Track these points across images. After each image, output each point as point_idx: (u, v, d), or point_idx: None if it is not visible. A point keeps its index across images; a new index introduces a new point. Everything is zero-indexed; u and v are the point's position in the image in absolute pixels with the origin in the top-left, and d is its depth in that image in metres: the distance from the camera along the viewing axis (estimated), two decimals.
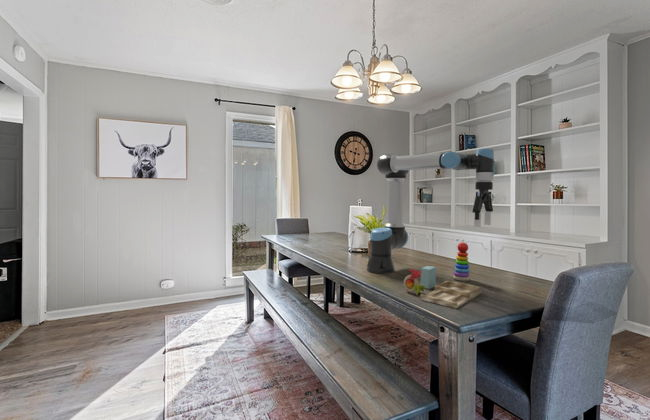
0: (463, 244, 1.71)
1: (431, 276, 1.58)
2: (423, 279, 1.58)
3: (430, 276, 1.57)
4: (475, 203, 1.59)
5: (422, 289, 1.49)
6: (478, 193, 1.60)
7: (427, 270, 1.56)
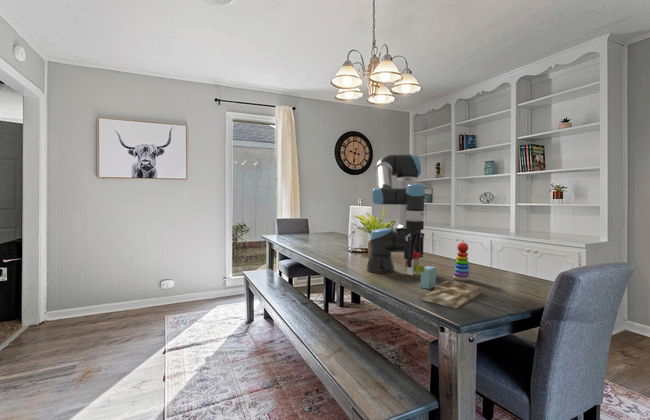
0: (463, 244, 1.71)
1: (431, 276, 1.58)
2: (423, 279, 1.58)
3: (430, 276, 1.57)
4: (405, 250, 1.45)
5: (422, 270, 1.49)
6: (406, 238, 1.44)
7: (427, 270, 1.56)
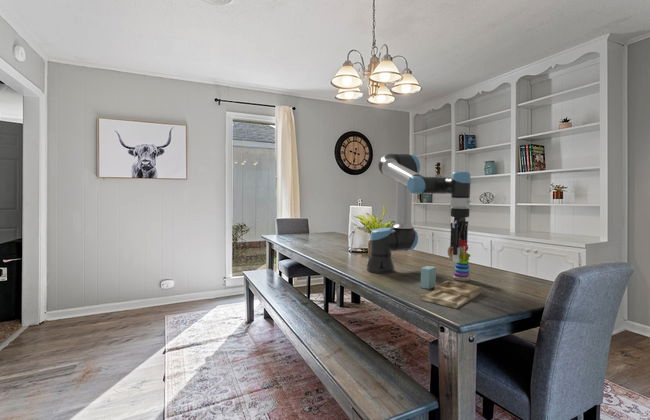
0: None
1: (431, 276, 1.58)
2: (423, 279, 1.58)
3: (430, 276, 1.57)
4: (451, 237, 1.44)
5: (467, 258, 1.49)
6: (453, 225, 1.44)
7: (427, 270, 1.56)
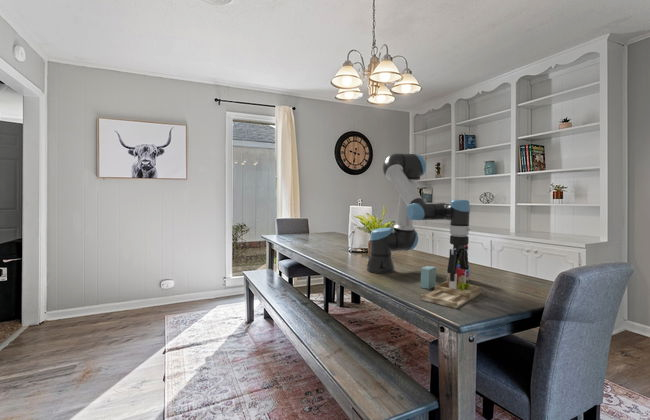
0: None
1: (431, 276, 1.58)
2: (423, 279, 1.58)
3: (430, 276, 1.57)
4: (449, 263, 1.44)
5: (466, 287, 1.49)
6: (452, 252, 1.44)
7: (427, 270, 1.56)
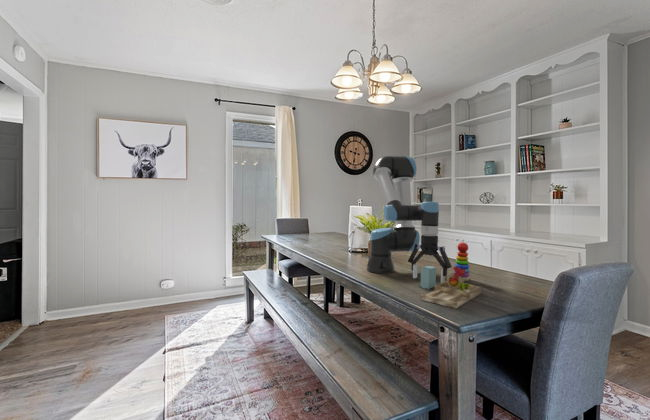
0: (463, 244, 1.71)
1: (431, 276, 1.58)
2: (423, 279, 1.58)
3: (430, 276, 1.57)
4: None
5: (466, 287, 1.49)
6: None
7: (427, 270, 1.56)
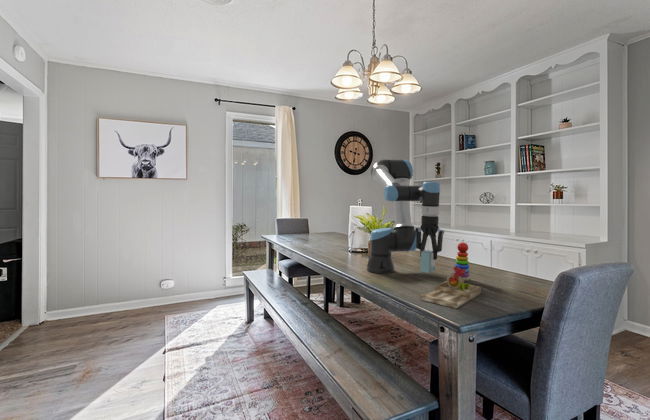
0: (463, 244, 1.71)
1: None
2: (423, 263, 1.58)
3: (430, 260, 1.57)
4: None
5: (466, 287, 1.49)
6: None
7: (427, 254, 1.56)
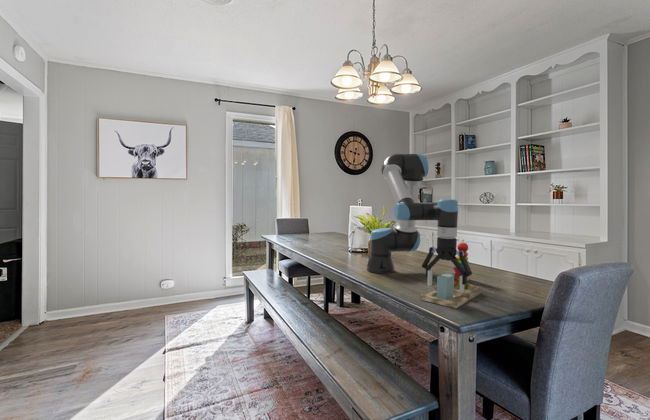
0: (463, 244, 1.71)
1: (449, 286, 1.39)
2: (439, 289, 1.38)
3: (448, 286, 1.37)
4: None
5: (466, 287, 1.49)
6: None
7: (444, 279, 1.37)
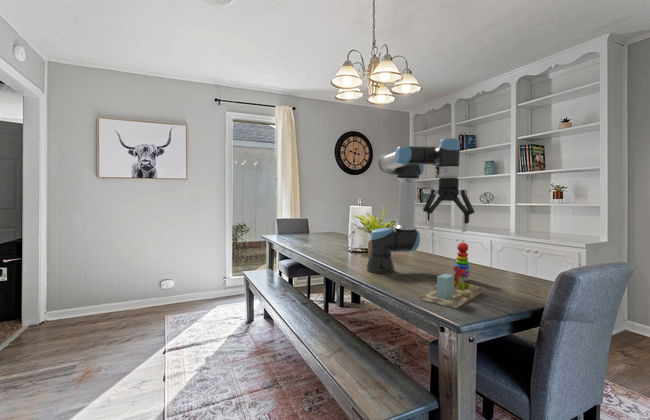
0: (463, 244, 1.71)
1: (449, 286, 1.39)
2: (439, 289, 1.38)
3: (448, 286, 1.37)
4: None
5: (466, 287, 1.49)
6: None
7: (444, 279, 1.37)
